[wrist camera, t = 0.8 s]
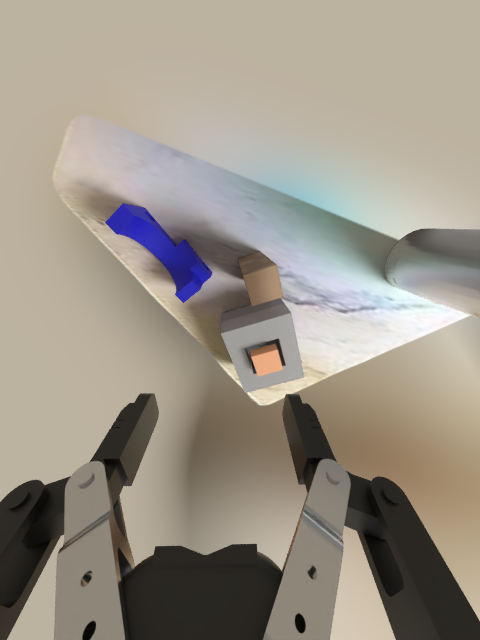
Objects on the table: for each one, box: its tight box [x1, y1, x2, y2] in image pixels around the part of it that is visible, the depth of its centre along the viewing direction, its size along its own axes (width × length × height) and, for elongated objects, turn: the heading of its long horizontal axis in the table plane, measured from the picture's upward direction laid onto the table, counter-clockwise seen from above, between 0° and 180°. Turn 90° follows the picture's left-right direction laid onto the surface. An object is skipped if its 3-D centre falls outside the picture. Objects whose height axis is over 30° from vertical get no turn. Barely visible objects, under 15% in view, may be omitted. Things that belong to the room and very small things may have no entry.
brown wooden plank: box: [238, 252, 284, 306], centre depth 25 cm, size 4×4×11 cm
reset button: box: [250, 344, 283, 377], centre depth 29 cm, size 4×4×3 cm
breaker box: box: [221, 298, 304, 393], centre depth 32 cm, size 10×12×7 cm
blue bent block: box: [105, 203, 212, 303], centre depth 25 cm, size 12×4×6 cm, turn 37°
